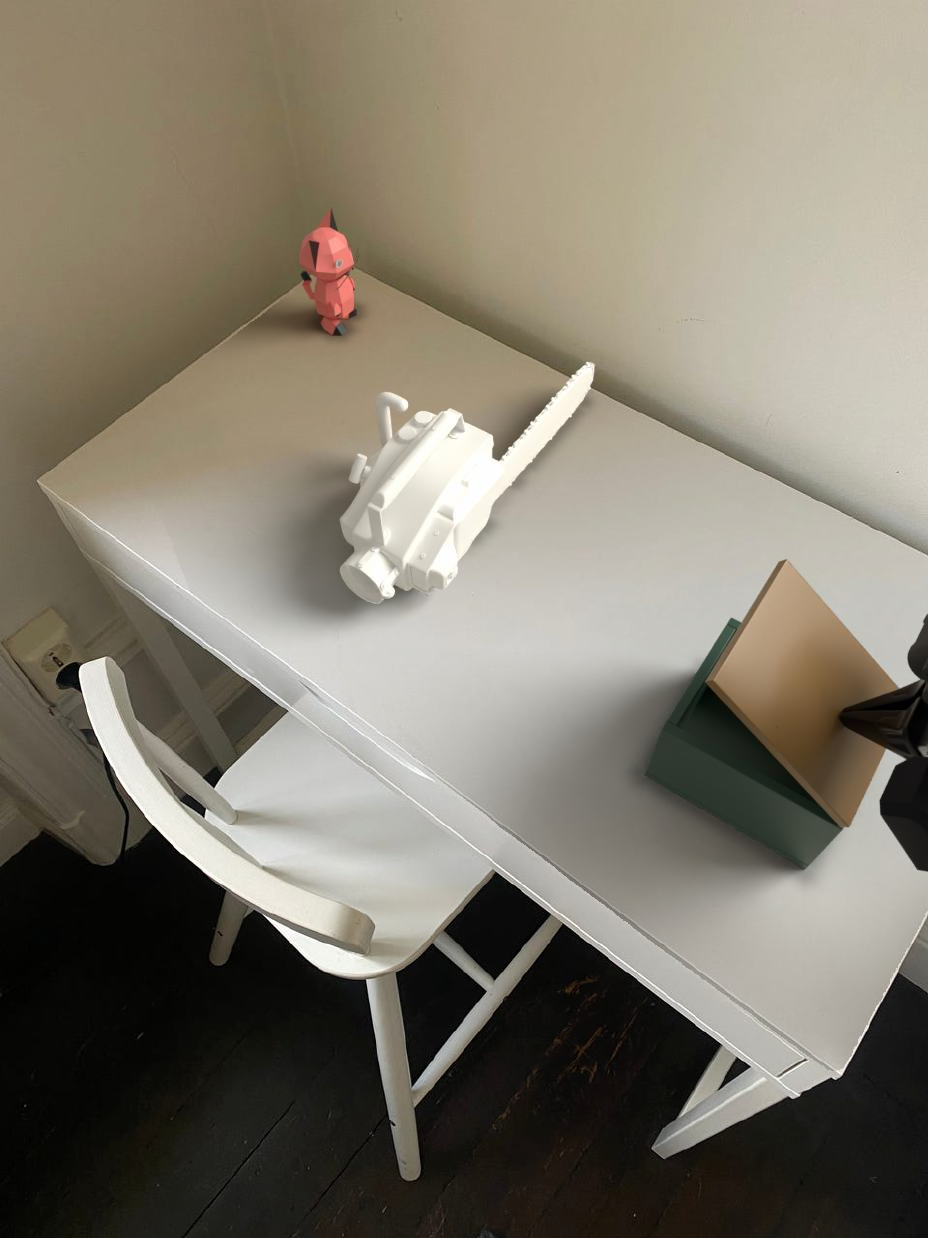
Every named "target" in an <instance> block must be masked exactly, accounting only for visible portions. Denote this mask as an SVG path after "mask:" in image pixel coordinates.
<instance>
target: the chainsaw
mask: <svg viewBox="0 0 928 1238" xmlns="http://www.w3.org/2000/svg"><path fill="white" fill-rule="evenodd" d="M595 366H596V364H595V363H593V362H591V361H586V362H585V364H584V365H582V366H581V368H579V369H577V370H576V371H575V374H571V376H570V377H571V378H570V379H569V380H568V381H566V382H565V384H564V386H562V387H561V389H560V390H559V391H557V392H556V393H555V396H552V397H551V398H550V400H551V401H549V402H548V404H546V405H545V407H544V408H543V410H542V411H541V412H540V413H539V414H538V415H536V417H535V418H534V420H531V421H530V422H529V423H530V425H529V426H528V427H527V428H525V429H524V430H523V433H521V435H520V436H519V438H518V439H517V440H515V441H514V442H513V443H512V446H509V447H508V448H507V451H506V452H505V454H503V455H502V456H501V458H500V460H498V459H495V458H493V448H494V446H495V444H494V436H493V434H490V433H489V432H486V431H485V430H482V429H480V428H479V427H477V426H474V425H472V424H470V423H468V422H467V421H464V416H463V413H461V412H459V411H457V410H455V409H453V408H451V407H449V408H448V409H447V410H444V411H439V412H438V414H435V413H432V412H429V411H427V410H420V411H417V412H416V413H415V414H414V415H413V416H412V417H410V418H409V419H408V420H407V421H406V422H405V423H404V424H403V425H402V426H401V427H400V428H399V429H398V430H397V431H396V432H395V434H393V429H392V418H391V409H393V410H395V411H397V412H399V413H404V412H406V411H407V410H408V409H409V403H408V400H406V399H405V398H404V397H401V396H400V395H398V394H395V393H393V392H389V391H383V392H380V393H379V394H378V395H377V396H376V398H375V412H376V419H377V427H378V435H379V440H380V445H381V446H382V447H380V449H378V450H377V451H375V452H373V454H372V455H371V456H370V457H369V458H368V456H367V455H365V454H362V453H357V454H356V455H355V459H354V461H353V464H352V465H351V471H350V474H349V476H348V481H349V482H350V483H352V484H355V485H357V484H359V487H360V488H359V490H358V491H357V494H356V495H355V497H354V499H353V500H352V502H351V504H350V505H349V506H348V508H347V509H346V511H345V512H344V513H343V514H342V515H341V517H340V518H339V523H340V527H341V531H342V535H343V537H344V540H345V541H346V543H348V544H349V545H350V546H352V547H353V550H354V552H352V554H351V555H350V556H349V557H347V559H346V560H345V561H344V562H343V563H342V564H341V565H340V567H339V573H340V576H341V579H342V580H343V582H344V584H346V586H347V587H348V588H349V589H350V590H351V591H352V592H353V593H354V594H355V595H356V596H357V597H359V598H361V599H362V600H364V601H365V602H368V603H370V604H375V605H379V604H381V603H382V602H383V601H384V600H386V599H387V600H388V599H392V598H393V597H394V595H395V592H396V591H395V588H394V586H396V587H397V588H400V589H401V590H402V591H405V592H409V591H411V590H412V589H413V588H414V589H415V590H417V591H419V592H420V593H422V594H424V595H425V596H430V595H431V594H432V593H433V592H434V591H435V589H437V590H440V591H444V590H445V589H446V588H447V587H448V586H449V585H450V584H451V582H452V581H453V580H454V579H455V578H456V577H457V575H458V570H459V569H458V568H459V567H458V563H459V561H460V560H461V559H462V558H463V557H464V555H465V554H466V553H467V552H468V551H469V548H471V545H472V543H473V542H474V540H475V538H476V537H477V536H478V535H479V534H480V532H482V531H483V530H484V528H485V527H486V525H487V523H488V522H489V518H490V516H491V512H492V507H493V505H494V504H495V502H496V501H497V500H498V499H499V497H500V496H501V495H503V494H504V493H505V490H506V489H508V488H509V487H511V486H512V485H513V482H515V481H516V479H517V478H518V476H519V475H520V474H521V473H522V472H523V471H525V469H526V467H527V466H528V465H529V464H531V463H533V460H534V459H535V458H537V455H538V454H539V453H540V451H542V450H543V449H544V448H545V447H546V445H547V444H548V443H549V442H550V441H552V440H553V437H555V435H556V434H557V432H559V430H560V429H561V427H562V426H565V423H566V422H567V420H568V419H569V418H572V416H573V415H572V414H574V413H575V412H576V410H577V408H578V407H579V406H580V405H581V404H582V402H583V401H584V399H585V397H586V396H587V394H588V392H589V391H590V390H591V388H592V387H591V386H592V384H593V381H594V375H595ZM390 408H391V409H390Z"/></svg>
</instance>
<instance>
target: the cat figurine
mask: <svg viewBox="0 0 928 1238" xmlns="http://www.w3.org/2000/svg"><path fill="white" fill-rule="evenodd" d="M337 226H338V225H337V223H336V220H335V216H334V212H333V209H332V207H329V209H328V211H327V212H326V213H325V215H324V217H323V218H322V219H321V221H320V223H319V224H318V226H317V227H316V228H315V229H314V230H313V231H312V232H310V233H309V234H307V235H306V236H305V237H303V238H302V241H301V244H300V248H299V260H298V263H299V265H300V266H301V267H302V268H303V269H304V270H302V271H301V272H300V274H299V275H300V277H301V278H302V280H303V281H302V284H301V285H302V287H303V289H304V291H305V293H306V295H307V297H308V298H309V299H310V300H313V301H314V303H315V304H314V305H315V309H316V312H317V313H316V314H318V315H321V316H323V317H322V319H321V322H320V325H321V327H322V329H323V330H325V332H327V333H328V334H330V335H331V336H344V335H345V334H346V333H347V332H348V330H347V327H346V326H345V324H344V323H343V322H342V320H341V319H345V320H346V319H351V318H353V317H355V316H357V315H358V310H357V309H356V308H355V297H354V296H355V294H354V292H355V291H356V286H355V281H354V278H352V277H349V276H350V274H351V273H352V271H353V270H354V269H355V267H356V266H355V267H354V265H355V263H358V260H359V257H360V255H358V254H360V253H359V248H357V250H356V252H357V253H356V255H355V258H356V260H355V262H354V257H353V252H352V249H351V246H350V245H351V242H350V241H349V242H348V241H347V239H346V237H345V235H344V234H342V233H341V232H339V230H338V227H337ZM357 255H358V256H357ZM351 270H352V271H351ZM309 274H310V275H312V276H313V277H315V278H316V279H315V284H314V291H313V290H312V286H311V283H312V281H313V280H312V277H311V276H310V275H309Z"/></svg>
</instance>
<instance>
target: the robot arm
mask: <svg viewBox="0 0 928 1238" xmlns="http://www.w3.org/2000/svg"><path fill="white" fill-rule="evenodd" d="M922 623H923V625H922V627H921V629H920V631H919V633H918V635H917V637H916V640H915V641H914V642H913V643H912V645H911V646H910V647H909V649H908V652H907V657H906V659H907V664H908V667H909V669H910V671H911V672H912V673H913V674H914V676H916V677H917V678H918V680H916V681H914V682H912V683H910V684H907V685H905V686H902V687H899V688H900V689H897V690H894V691H892V692H889V693H886V694H883V695H880V696H877V697H874V698H871V699H869V700H866V701H863V702H860V703H857V704H854V705H851V706H848V707H845V708H843V710H842V711H841V714H840V715H839V720H840V721H841V723H842V724H843V726H844V727H846V728H847V729H849V730H851V731H853V732H855V733H857V734H859V735H861V736H863V737H865V738H867V739H869V740H871V741H873V742H874V743H876V744H878V745H880V746H882V747H884V748H886V750H888V751H890V752H892V753H894V754H895V755H897V756H899V757H901V758H903V759H904V760H903V761H901V762H899V763H897V764H895V765H894V768H893V770H892V772H891V774H890V776H889V778H888V780H887V783H886V785H885V787H884V789H883V791H882V794H881V796H880V798H879V801H878V802H879V815H880V817H881V818H882V819H883V821H884V822H885V824H886V826H887V827H888V829H889V830H890V832H891V833H892V835H893V836H894V838H895V839H896V841H897V842H898V843H899V845H900V846H901V848H902V850H903V851H904V852H905V854H906V855H907V857H908V859H909V860H910V862H911V863H912V864H913V866H914V868H915V869H916V870H917V871H921V872H925V873H926V872H927V873H928V613H927V614H926V615H925V617H924V618H923V621H922Z"/></svg>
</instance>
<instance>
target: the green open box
mask: <svg viewBox="0 0 928 1238" xmlns="http://www.w3.org/2000/svg"><path fill="white" fill-rule="evenodd" d="M741 622H742V621H740V620H738V619H736V618H733V617H730V618H729V619H728V621H727V623H726V625H725V626H724V627H723V629H722V631H720V632H721V633H720V634H719V635H718V637H717V639H716V640H715V642H714V644H713V645H712V646H711V649H710V650H709V651H708V653H707V655H706V657H705V658H704V659H703V661H702V662H701V665H700V666H699V668H698V669H697V671H696V672H695V674H694V675H693V677H692V679H691V681H690V682H689V684H688V685H687V687H686V689H685V690H684V691H683V693H682V695H681V697H680V698H679V700H678V702H677V703H676V704H675V705H674V708H673V709H672V712H671V713H670V714H669V716H668V718H667V719H666V721H665V722H664V724H663V725H662V727H661V729H660V732H659V735H658V737H657V739H656V742H655V745H654V748H653V750H652V754H651V755H650V758H649V762H648V764H647V767H646V769H645V773H644V776H645V777H646V778H649V779H650V780H651V781H653V782H655V783H657V784H659V785H660V786H661V787H664V788H665V789H667V790H668V791H671V792H672V793H673V794H675V795H677V796H679V797H681V798H682V799H684V800H686V801H687V802H689V803H691V804H693V805H695V806H696V807H698V808H700V809H702V810H704V811H705V812H706V813H708V814H710V815H712V816H713V817H715V818H717V819H718V820H719V821H722V822H723V823H726V824H727V825H729V826H731V827H732V828H734V829H736V830H737V831H739V832H741V833H742V834H745V835H746V836H748V837H749V838H751V839H753V840H755V841H756V842H758V843H760V844H761V845H763V846H764V847H767V848H768V849H770V850H772V851H774V852H775V853H777V854H778V855H780V856H782V857H784V858H785V859H787V860H789V861H790V862H792V863H794V864H796V865H797V866H799V867H801V868H803V869H804V870H806V869H808V868H809V867H810V866H811V864H812V863H814V861H815V860H816V859H817V858H818V857H819V856H820V855H821V854H822V853H823V852H824V851H825V849H826V848H827V847H828V846H829V845H830V844H831V843H832V842H833V841H834V840H835V839H836V838H837V837H838V835H840V834H841V832H842V831H844V828H845V827H840V826H839V825H838V824H837V823H836V822H835V821H834V820H833V819H832V818H831V817H830V816H829V814H828V813H827V812H826V811H825V810H824V809H823V808H822V807H821V806H820V805H819V804H818V803H817V802H816V801H815V799H814V798H813V797H812V796H811V795H810V794H809V793H808V792H807V791H806V790H805V789H804V788H803V787H802V786H801V784H800V783H799V782H798V781H797V780H796V779H795V778H794V777H793V776H792V775H791V774H790V773H789V772H788V770H787V769H786V768H785V767H784V766H783V765H782V764H781V763H780V762H779V761H778V760H777V759H776V758H775V757H774V755H773V754H772V753H771V752H770V751H769V750H768V749H767V748H766V747H765V746H764V745H763V744H762V743H761V742H760V740H759V739H758V738H757V737H756V736H755V735H754V734H753V733H752V732H751V731H750V730H749V729H748V728H747V727H746V725H745V724H744V723H743V722H742V721H741V720H740V719H739V718H738V717H737V716H736V715H735V714H734V713H733V711H732V710H731V709H730V708H729V707H728V706H727V705H726V704H725V703H724V702H723V701H722V700H721V699H720V698H719V696H718V695H717V694H716V693H715V692H714V691H713V690H712V689H711V688H710V687H709V686H708V685H707V684H706V682H705V681H706V680H707V678H708V676H709V675H710V673H711V671H712V670H713V668H714V666H715V665H716V663H717V662H718V660H719V658H720V657H721V655H722V653H723V652H724V650H725V649H726V647H727V645H728V644H729V642H730V640H731V639H732V637H733V635H734V634H735V632H736V631H737V629H738V627H739V626H740V624H741Z"/></svg>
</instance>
